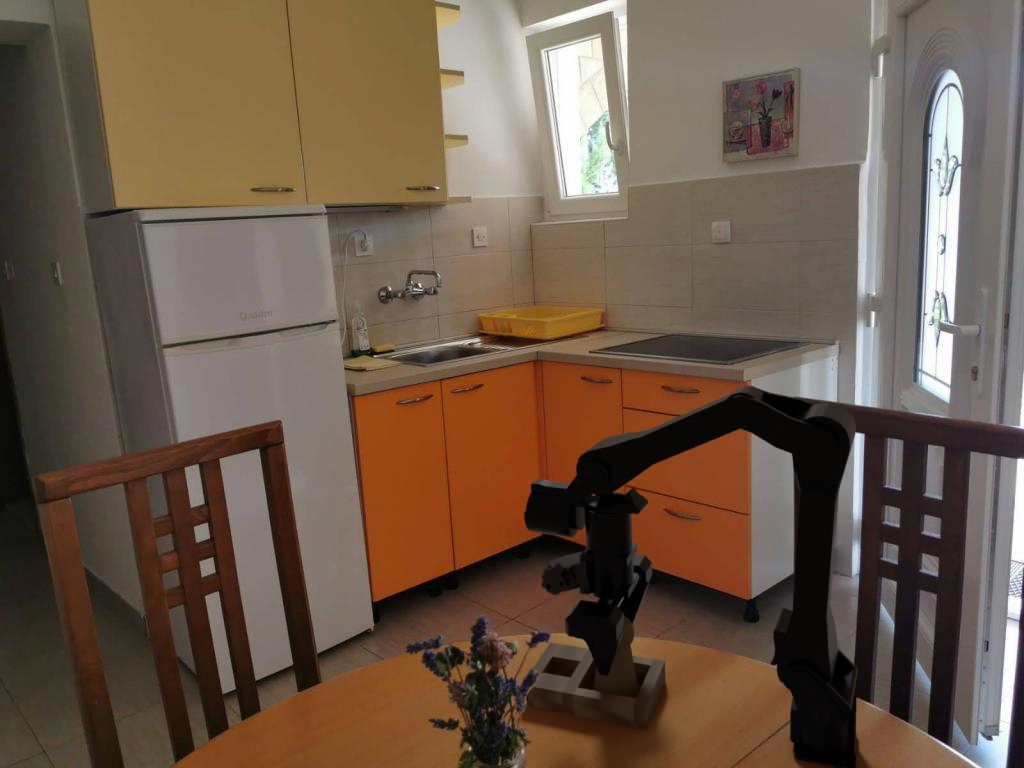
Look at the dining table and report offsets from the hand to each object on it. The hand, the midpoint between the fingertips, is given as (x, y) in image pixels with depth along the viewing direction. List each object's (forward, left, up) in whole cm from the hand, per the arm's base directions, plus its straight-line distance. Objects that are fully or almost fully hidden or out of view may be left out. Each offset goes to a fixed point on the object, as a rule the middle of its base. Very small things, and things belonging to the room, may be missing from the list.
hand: (614, 655), depth 101 cm
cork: (0, 0, -6) cm, 6 cm away
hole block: (+3, 0, -6) cm, 7 cm away
